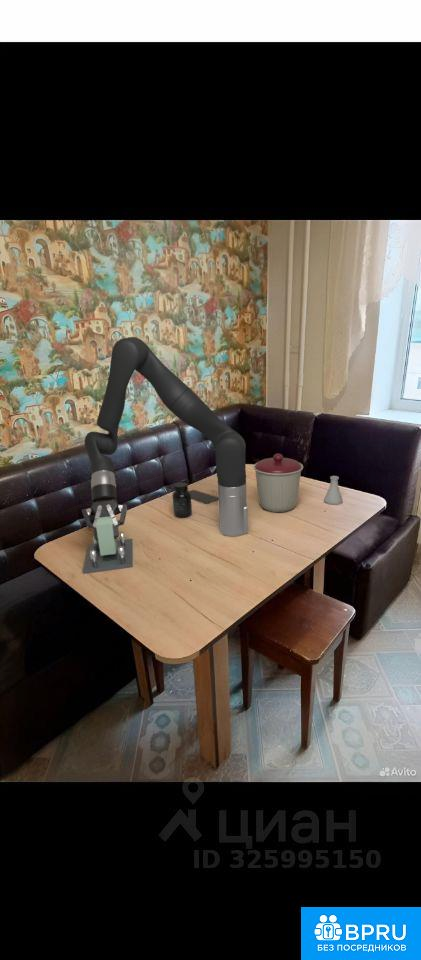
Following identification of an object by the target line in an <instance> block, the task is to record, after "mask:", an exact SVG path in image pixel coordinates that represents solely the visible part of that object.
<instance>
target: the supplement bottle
mask: <svg viewBox="0 0 421 960" xmlns="http://www.w3.org/2000/svg"><path fill="white" fill-rule="evenodd" d="M173 487H174V491H173V493H172V494H171V495H172V497H171V498H172V507H173V516H174V517H175V518H178V519H187V518H190V517H191V516H192V515H193V509H192V508H193V506H192V499H191V493H190V491H191V490H189V487H188V483H186V482H177V483H175V484H174V486H173Z"/></svg>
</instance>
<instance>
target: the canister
mask: <svg viewBox="0 0 421 960" xmlns="http://www.w3.org/2000/svg"><path fill="white" fill-rule="evenodd" d="M303 465H304V464H302V463H301V462H299V461H298V460H296V459H293V458H288V457H284V456H283V454H281V453H275V454H274V455H273V457H269V458H268V457H267V458H263V459H261V460H259V461H258V462H256V463H255V464H253V465H252V467H253V470H254V471H255V479H256V487H257V494H258V501H259V505H261V507H262V508H263V509H264V510H266V511H267V512H273V513H285V512H289V511H291V510H292V509H294V507H295V506H296V505H297V504H296V503H297V500H298V495H299V494H298V493H299V490H300V489H299V488H300V481H301V472H302V471H303V469H304V466H303Z"/></svg>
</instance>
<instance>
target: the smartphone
mask: <svg viewBox="0 0 421 960" xmlns="http://www.w3.org/2000/svg"><path fill="white" fill-rule="evenodd" d="M189 491H190V493H191V500H193V501H196V502H199V503H202V504H204V505H209V504H211V503H214V502H215V501H216V502H217V501H219V497H218V496H215V495H213V494H210V493H206V492H205V493H204V492H202V491H199V490H195V489H192V490H189Z"/></svg>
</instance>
